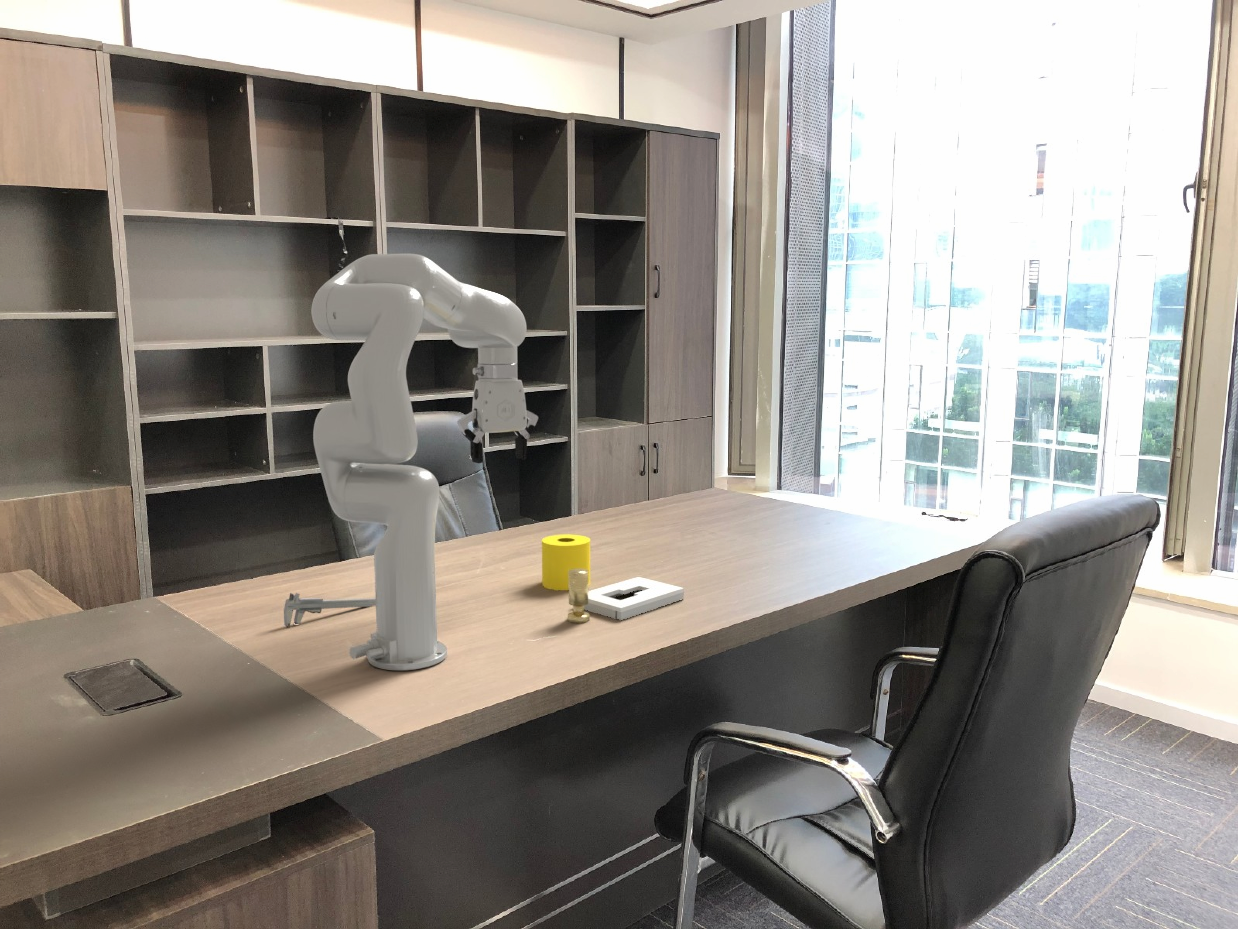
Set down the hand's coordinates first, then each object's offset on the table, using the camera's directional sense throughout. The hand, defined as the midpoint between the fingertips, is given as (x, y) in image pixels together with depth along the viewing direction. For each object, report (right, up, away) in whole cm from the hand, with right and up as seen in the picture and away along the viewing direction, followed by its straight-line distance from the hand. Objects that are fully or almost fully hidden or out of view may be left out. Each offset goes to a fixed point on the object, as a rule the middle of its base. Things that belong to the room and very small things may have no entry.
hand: (499, 460), depth 186 cm
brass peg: (+16, -29, -12) cm, 36 cm away
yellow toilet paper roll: (+13, -26, +11) cm, 31 cm away
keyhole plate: (+26, -28, -2) cm, 38 cm away
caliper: (-29, -29, -9) cm, 42 cm away
